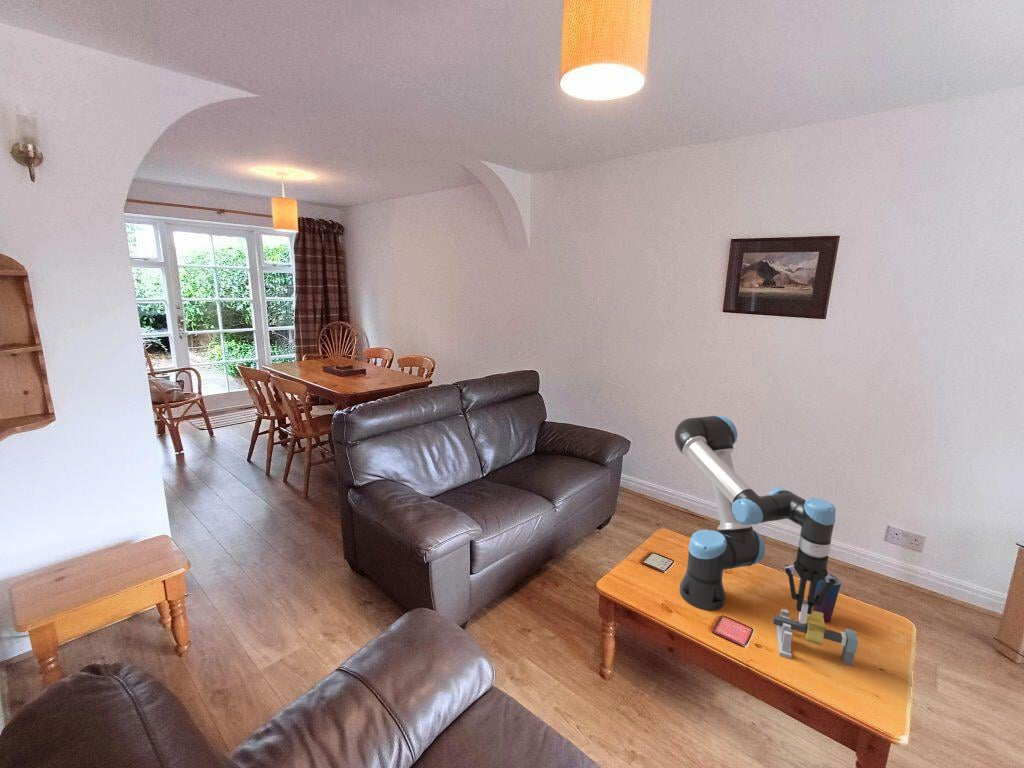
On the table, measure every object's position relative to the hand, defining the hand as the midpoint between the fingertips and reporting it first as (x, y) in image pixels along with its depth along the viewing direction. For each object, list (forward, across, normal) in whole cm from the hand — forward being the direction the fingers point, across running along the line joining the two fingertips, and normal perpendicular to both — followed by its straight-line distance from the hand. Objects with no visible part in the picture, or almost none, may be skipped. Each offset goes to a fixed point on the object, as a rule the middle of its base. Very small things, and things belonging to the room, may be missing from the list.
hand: (801, 620), depth 139 cm
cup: (+10, +8, +18) cm, 22 cm away
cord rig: (+9, +4, 0) cm, 10 cm away
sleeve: (+5, +3, 0) cm, 6 cm away
